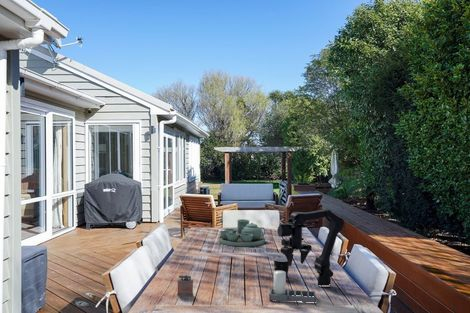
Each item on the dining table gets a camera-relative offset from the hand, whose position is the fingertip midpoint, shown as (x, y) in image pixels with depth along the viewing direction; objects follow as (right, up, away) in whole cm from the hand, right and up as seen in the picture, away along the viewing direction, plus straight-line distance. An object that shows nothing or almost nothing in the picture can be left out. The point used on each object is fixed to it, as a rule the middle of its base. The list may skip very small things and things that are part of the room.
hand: (296, 264), depth 211 cm
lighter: (-58, -12, -12) cm, 61 cm away
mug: (-6, -13, +21) cm, 25 cm away
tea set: (-27, -14, +121) cm, 125 cm away
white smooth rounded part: (-11, -13, -15) cm, 22 cm away
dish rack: (-4, -13, -16) cm, 21 cm away
